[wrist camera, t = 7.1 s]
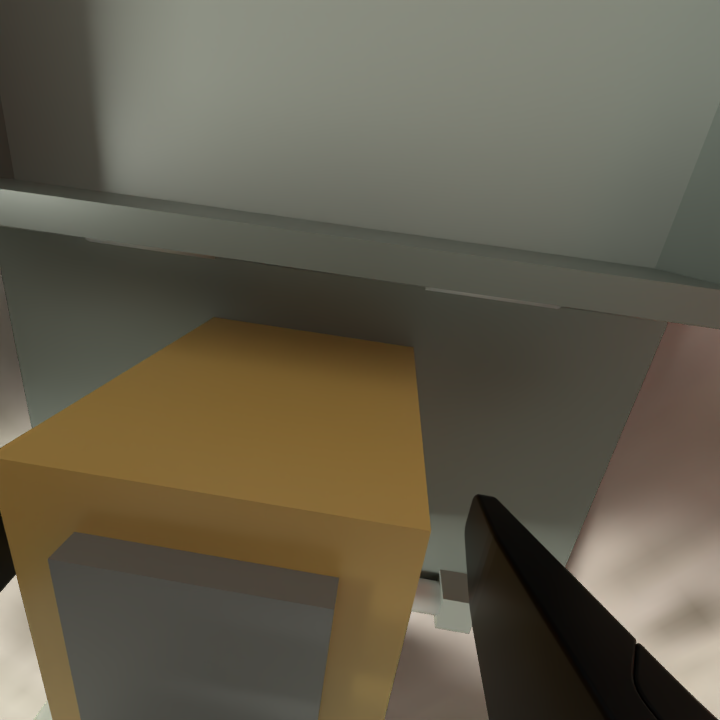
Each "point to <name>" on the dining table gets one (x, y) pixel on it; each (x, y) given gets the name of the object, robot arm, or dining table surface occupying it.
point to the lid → (373, 323)
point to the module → (225, 530)
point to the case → (382, 140)
